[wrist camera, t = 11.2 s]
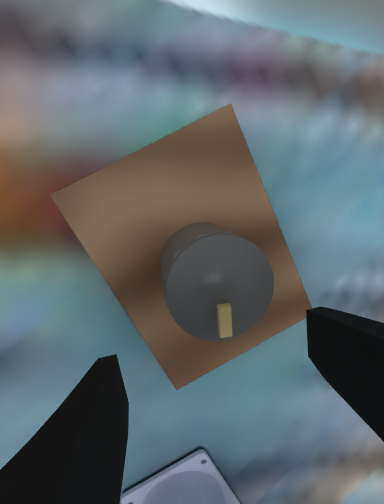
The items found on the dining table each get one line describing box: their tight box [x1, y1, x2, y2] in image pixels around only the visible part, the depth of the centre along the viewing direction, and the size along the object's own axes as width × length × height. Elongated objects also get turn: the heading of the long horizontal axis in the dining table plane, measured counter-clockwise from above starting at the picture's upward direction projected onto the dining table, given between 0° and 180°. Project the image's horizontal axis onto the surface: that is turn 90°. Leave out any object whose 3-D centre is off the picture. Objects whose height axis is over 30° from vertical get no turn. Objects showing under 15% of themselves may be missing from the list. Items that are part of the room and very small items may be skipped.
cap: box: [160, 222, 274, 341], centre depth 15 cm, size 5×5×6 cm
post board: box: [50, 104, 312, 390], centre depth 16 cm, size 16×12×5 cm
